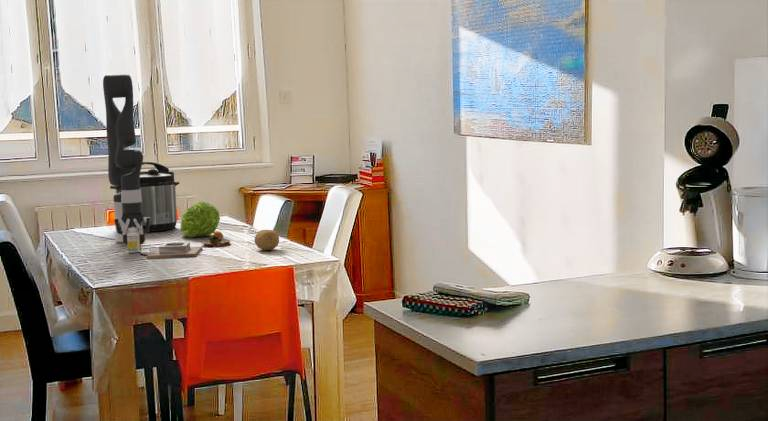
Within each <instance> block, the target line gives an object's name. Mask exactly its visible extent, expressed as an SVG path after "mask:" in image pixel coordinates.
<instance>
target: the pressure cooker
mask: <svg viewBox="0 0 768 421" xmlns="http://www.w3.org/2000/svg"><path fill="white" fill-rule="evenodd" d="M143 165H151V166H153V167H154V168H150V169H149V170H145V171H140V191H141V199H142V214H143V216H144V217H150V218H151V222H150V229H149V232H161V231H167V230H168V231H169V229H170V230H173V229H174V228H176V226H177V222H178V218H177V217H178V214H177V195H176V194H177V193H176V186H178V185H179V184H180V181H175V173H174V171H169V170H170V169H169V168H168V167H166V166H165V165H163V164H160V163H157V162H153V161H143V163H142V166H143ZM109 188H110V189H111V190H115V194H118V193H120V192H122V189H121V185H110V186H109ZM141 225H142V227H143V229H144V230H145V227H146V223H145V221H144V219H143V221H142V222H141Z"/></svg>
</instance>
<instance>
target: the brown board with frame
mask: <svg viewBox="0 0 768 421" xmlns="http://www.w3.org/2000/svg"><path fill="white" fill-rule="evenodd" d="M202 250H203V246H191V242H190V241H188V242H187V241H183V242H163V243H162V244H161V245H159V246H158V247H156V248H154V249H153V250H152V251H151V252H149V253H148V254H146V259H147V260H151V259H152V260H153V259H172V258H173V259H174V258H175V259H177V258H196V257H197V256H198V255H199V253H201V251H202Z"/></svg>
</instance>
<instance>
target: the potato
mask: <svg viewBox="0 0 768 421" xmlns="http://www.w3.org/2000/svg"><path fill="white" fill-rule="evenodd" d="M279 243H280V237H279V235H278V233H277V231H276V230H273V229H262V230H259V231H257V232H256V234H255V236H254V244H255V245H256V247H258V249H260V250H263V251H271V250H274V249H275V248H277V246H278V247H279Z"/></svg>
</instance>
